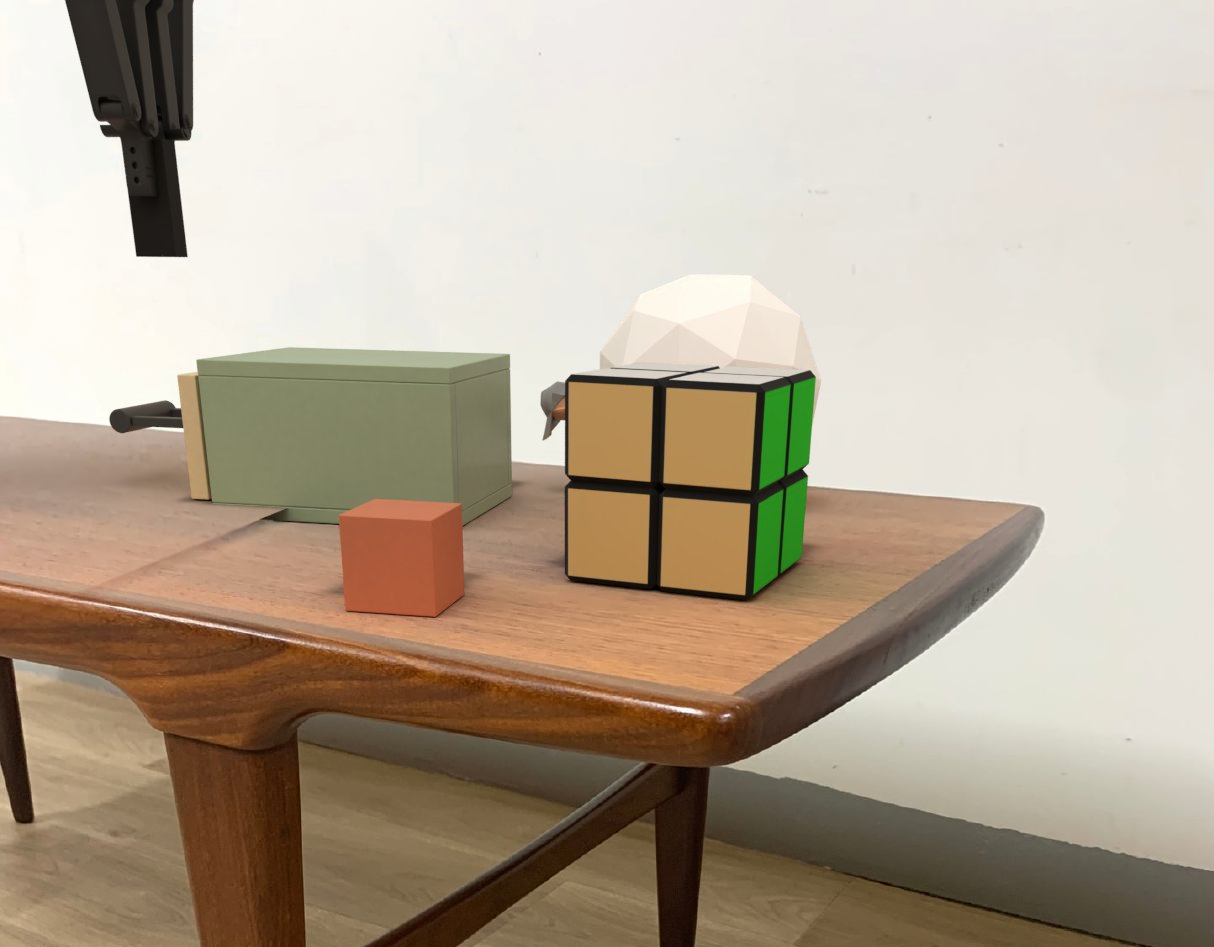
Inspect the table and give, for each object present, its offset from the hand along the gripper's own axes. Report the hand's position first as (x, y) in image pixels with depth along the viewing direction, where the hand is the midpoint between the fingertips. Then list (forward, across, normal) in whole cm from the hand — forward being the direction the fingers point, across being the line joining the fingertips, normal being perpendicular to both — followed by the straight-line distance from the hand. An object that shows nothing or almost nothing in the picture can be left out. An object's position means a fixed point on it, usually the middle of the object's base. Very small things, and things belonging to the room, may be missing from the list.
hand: (162, 256), depth 79 cm
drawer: (+14, 0, -7) cm, 16 cm away
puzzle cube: (+15, -14, -36) cm, 41 cm away
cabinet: (+15, 0, -13) cm, 20 cm away
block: (+15, -24, -24) cm, 37 cm away
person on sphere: (+15, +9, -32) cm, 37 cm away
